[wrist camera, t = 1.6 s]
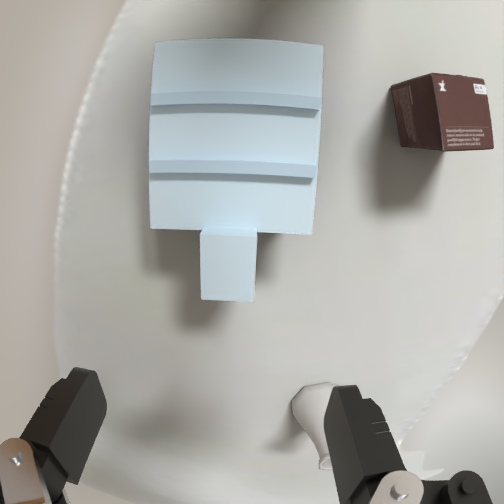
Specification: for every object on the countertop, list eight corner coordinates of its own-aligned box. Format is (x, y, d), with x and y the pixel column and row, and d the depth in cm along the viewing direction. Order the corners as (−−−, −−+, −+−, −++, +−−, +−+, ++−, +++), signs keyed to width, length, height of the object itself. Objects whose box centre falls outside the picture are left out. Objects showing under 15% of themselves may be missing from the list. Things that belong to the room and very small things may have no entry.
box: (398, 147, 25) (441, 152, 18) (388, 84, 23) (429, 71, 16) (448, 144, 25) (495, 150, 18) (439, 86, 23) (485, 78, 16)
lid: (159, 46, 17) (147, 34, 14) (319, 50, 17) (330, 37, 15) (158, 277, 23) (147, 296, 20) (302, 283, 23) (309, 302, 21)
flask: (284, 416, 36) (291, 479, 27) (298, 379, 34) (311, 446, 24) (334, 418, 37) (350, 476, 27) (354, 381, 34) (377, 443, 25)
